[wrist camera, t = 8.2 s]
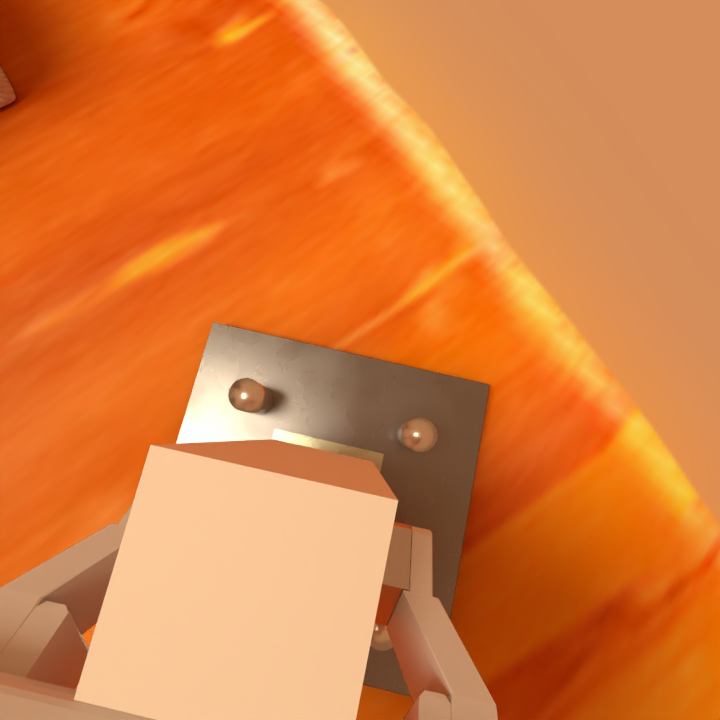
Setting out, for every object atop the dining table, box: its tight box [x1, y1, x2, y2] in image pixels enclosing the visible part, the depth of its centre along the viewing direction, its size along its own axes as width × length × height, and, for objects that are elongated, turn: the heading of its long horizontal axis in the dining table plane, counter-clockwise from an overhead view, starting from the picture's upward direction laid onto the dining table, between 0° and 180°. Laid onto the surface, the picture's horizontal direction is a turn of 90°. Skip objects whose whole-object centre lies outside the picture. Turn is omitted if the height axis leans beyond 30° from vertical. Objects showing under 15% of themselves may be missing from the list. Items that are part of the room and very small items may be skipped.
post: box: [74, 439, 398, 720], centre depth 11 cm, size 4×4×10 cm
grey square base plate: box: [176, 322, 490, 696], centre depth 21 cm, size 16×16×4 cm
